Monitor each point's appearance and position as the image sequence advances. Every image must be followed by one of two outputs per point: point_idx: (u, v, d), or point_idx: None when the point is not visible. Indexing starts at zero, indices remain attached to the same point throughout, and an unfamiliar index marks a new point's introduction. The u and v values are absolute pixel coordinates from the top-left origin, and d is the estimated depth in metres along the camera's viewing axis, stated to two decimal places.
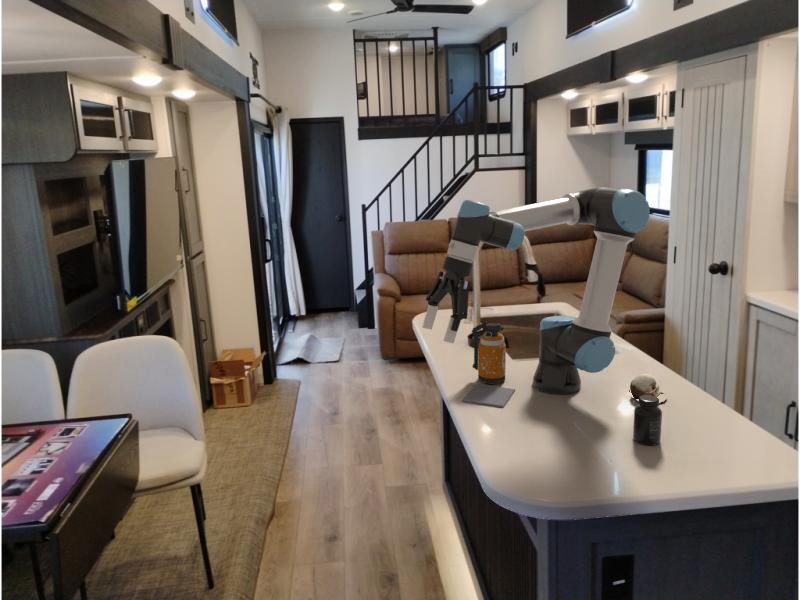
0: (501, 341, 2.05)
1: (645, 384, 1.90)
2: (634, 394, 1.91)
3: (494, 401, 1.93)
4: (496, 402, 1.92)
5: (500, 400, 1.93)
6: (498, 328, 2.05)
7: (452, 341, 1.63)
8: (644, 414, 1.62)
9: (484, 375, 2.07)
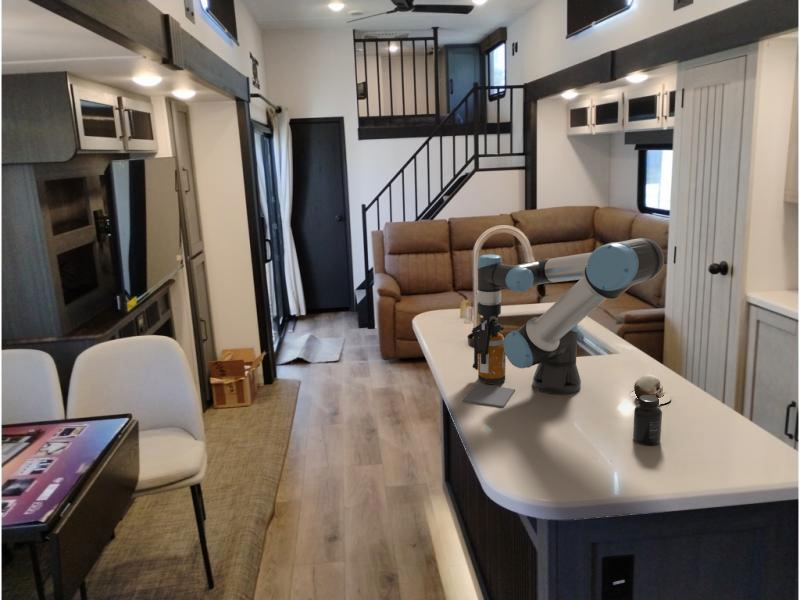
0: (501, 341, 2.05)
1: (649, 385, 1.89)
2: (638, 395, 1.91)
3: (494, 401, 1.93)
4: (496, 402, 1.92)
5: (500, 400, 1.93)
6: (498, 328, 2.05)
7: (486, 371, 2.05)
8: (644, 414, 1.62)
9: (484, 375, 2.07)
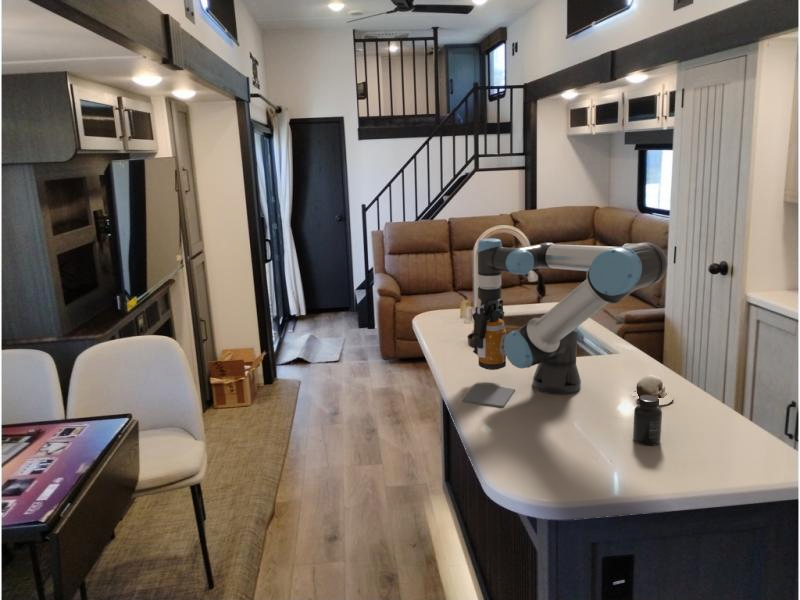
0: (499, 327, 2.02)
1: (652, 385, 1.89)
2: (641, 395, 1.90)
3: (494, 401, 1.93)
4: (496, 402, 1.92)
5: (500, 400, 1.93)
6: (497, 313, 2.03)
7: (483, 356, 2.04)
8: (644, 414, 1.62)
9: (482, 360, 2.06)
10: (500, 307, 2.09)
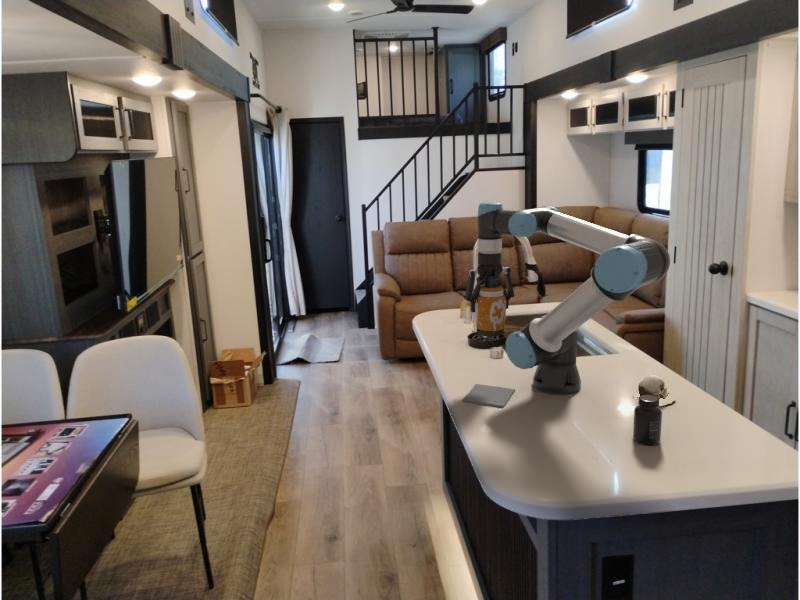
0: (490, 293, 1.97)
1: (654, 385, 1.88)
2: None
3: (494, 401, 1.93)
4: (496, 402, 1.92)
5: (500, 400, 1.93)
6: (492, 280, 1.98)
7: (475, 321, 2.02)
8: (644, 414, 1.62)
9: None
10: (506, 275, 2.02)
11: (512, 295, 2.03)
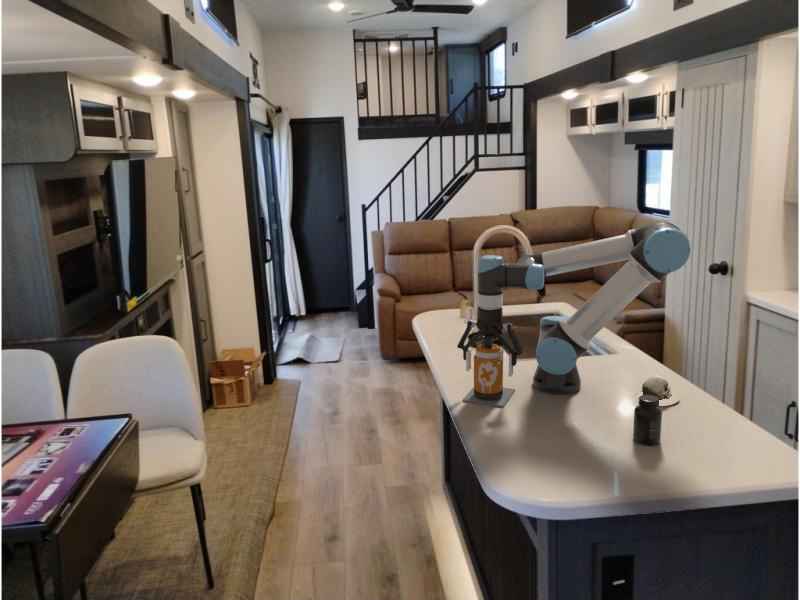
0: (480, 353, 1.91)
1: (658, 386, 1.88)
2: None
3: (494, 401, 1.93)
4: (496, 402, 1.92)
5: (500, 400, 1.93)
6: None
7: None
8: (644, 414, 1.62)
9: None
10: (508, 332, 1.89)
11: (518, 353, 1.89)
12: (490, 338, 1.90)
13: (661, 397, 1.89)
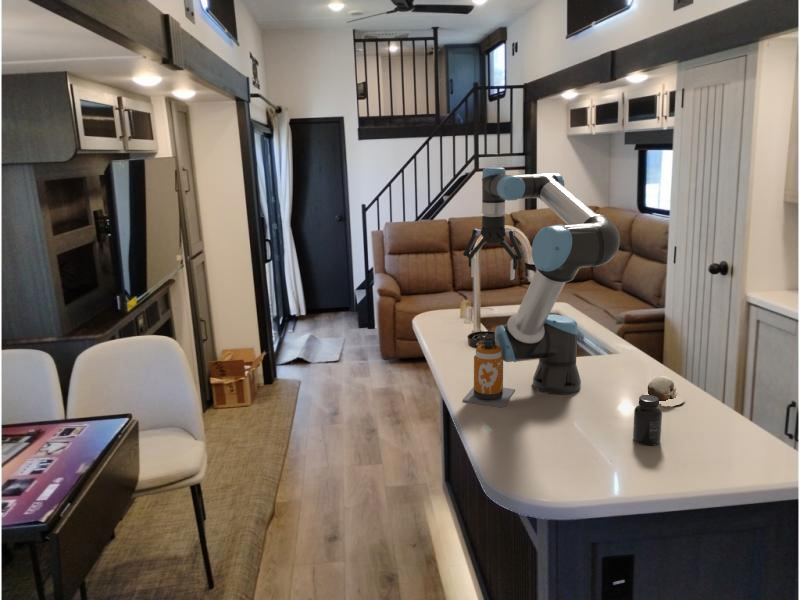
0: (480, 354, 1.91)
1: (663, 386, 1.88)
2: None
3: (494, 401, 1.93)
4: (496, 402, 1.92)
5: (500, 400, 1.93)
6: None
7: None
8: (644, 414, 1.62)
9: None
10: (510, 238, 2.07)
11: (519, 256, 2.07)
12: (490, 339, 1.89)
13: (667, 397, 1.89)
